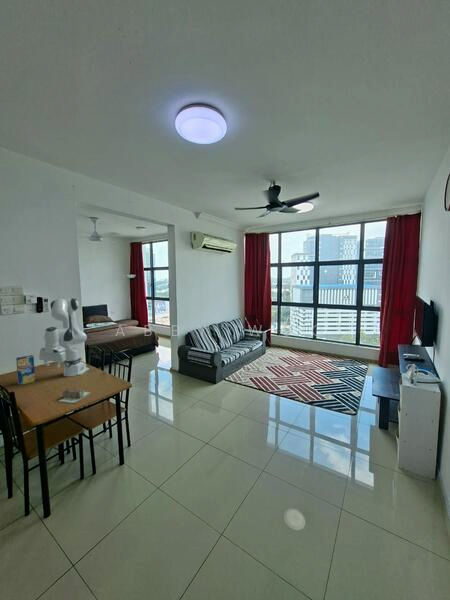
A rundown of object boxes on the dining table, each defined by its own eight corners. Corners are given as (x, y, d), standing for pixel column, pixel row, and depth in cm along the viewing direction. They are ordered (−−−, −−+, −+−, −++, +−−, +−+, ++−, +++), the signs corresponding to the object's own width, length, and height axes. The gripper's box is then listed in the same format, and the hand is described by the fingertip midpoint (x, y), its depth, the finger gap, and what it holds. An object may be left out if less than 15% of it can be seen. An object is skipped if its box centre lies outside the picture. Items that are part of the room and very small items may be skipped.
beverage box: (35, 381, 210) (33, 356, 209) (18, 385, 202) (17, 359, 201) (33, 379, 215) (32, 355, 213) (17, 382, 207) (16, 357, 205)
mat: (75, 391, 193) (75, 390, 192) (90, 393, 190) (90, 392, 190) (58, 401, 177) (58, 400, 177) (75, 403, 175) (75, 402, 175)
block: (68, 387, 187) (84, 389, 185) (68, 393, 187) (84, 395, 185) (62, 390, 182) (79, 392, 180) (63, 396, 182) (79, 398, 180)
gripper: (36, 348, 182) (37, 366, 183) (60, 351, 179) (60, 369, 180) (43, 346, 188) (44, 363, 190) (67, 348, 185) (67, 366, 187)
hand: (52, 366), depth 185 cm, fingers open, 8 cm apart
